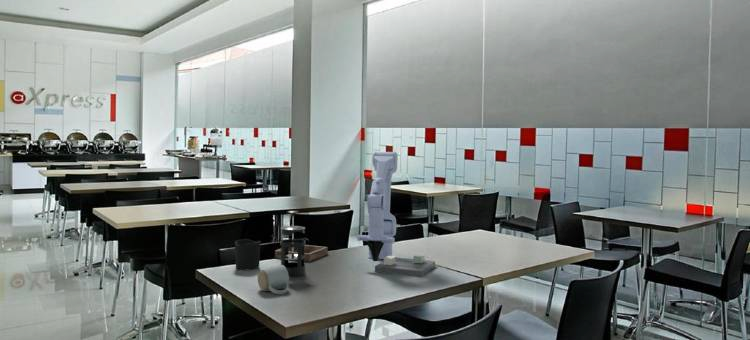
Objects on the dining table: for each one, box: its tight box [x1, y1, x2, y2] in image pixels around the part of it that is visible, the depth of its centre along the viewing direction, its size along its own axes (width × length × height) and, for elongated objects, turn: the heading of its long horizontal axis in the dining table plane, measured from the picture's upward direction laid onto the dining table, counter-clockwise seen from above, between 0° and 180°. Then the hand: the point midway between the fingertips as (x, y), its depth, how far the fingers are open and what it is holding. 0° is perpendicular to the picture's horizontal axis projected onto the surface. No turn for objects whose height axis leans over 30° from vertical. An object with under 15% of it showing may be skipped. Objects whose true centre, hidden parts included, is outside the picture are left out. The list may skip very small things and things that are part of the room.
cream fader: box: [383, 256, 397, 265], centre depth 210 cm, size 3×4×2 cm, turn 158°
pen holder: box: [234, 239, 261, 271], centre depth 211 cm, size 9×9×10 cm
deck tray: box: [274, 244, 329, 262], centre depth 233 cm, size 16×16×3 cm
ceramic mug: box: [257, 264, 290, 295], centre depth 179 cm, size 11×8×8 cm
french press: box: [280, 210, 307, 278], centre depth 202 cm, size 12×9×23 cm
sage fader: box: [412, 253, 426, 263], centre depth 214 cm, size 3×4×2 cm, turn 158°
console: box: [374, 256, 436, 278], centre depth 212 cm, size 18×18×2 cm
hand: (375, 260), depth 212 cm, fingers closed
